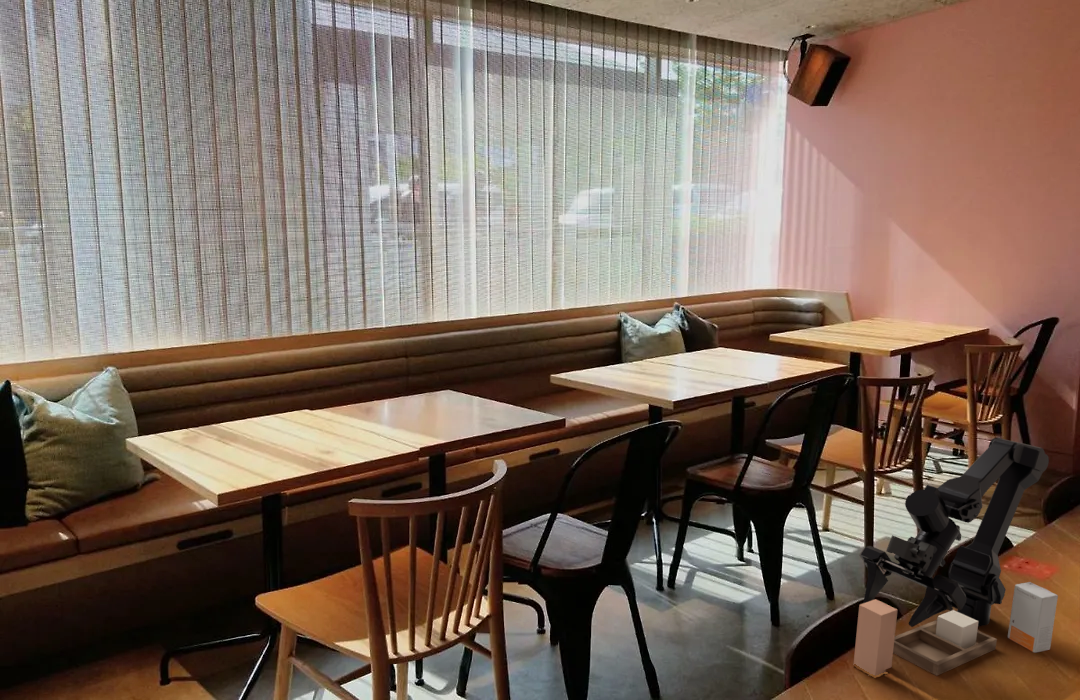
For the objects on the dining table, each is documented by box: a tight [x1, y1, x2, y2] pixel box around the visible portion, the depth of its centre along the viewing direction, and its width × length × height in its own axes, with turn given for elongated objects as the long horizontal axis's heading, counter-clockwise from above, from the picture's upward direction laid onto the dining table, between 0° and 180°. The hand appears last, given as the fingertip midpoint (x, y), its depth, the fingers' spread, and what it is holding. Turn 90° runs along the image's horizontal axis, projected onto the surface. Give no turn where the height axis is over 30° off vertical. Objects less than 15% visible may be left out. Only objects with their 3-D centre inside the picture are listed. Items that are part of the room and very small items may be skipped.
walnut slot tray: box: [893, 619, 998, 677], centre depth 155 cm, size 18×10×3 cm, turn 122°
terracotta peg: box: [853, 598, 898, 676], centre depth 148 cm, size 4×4×12 cm
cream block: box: [936, 609, 979, 649], centre depth 157 cm, size 5×5×5 cm
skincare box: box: [1007, 581, 1059, 653], centre depth 157 cm, size 6×4×12 cm
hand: (887, 614), depth 149 cm, fingers open, 9 cm apart
